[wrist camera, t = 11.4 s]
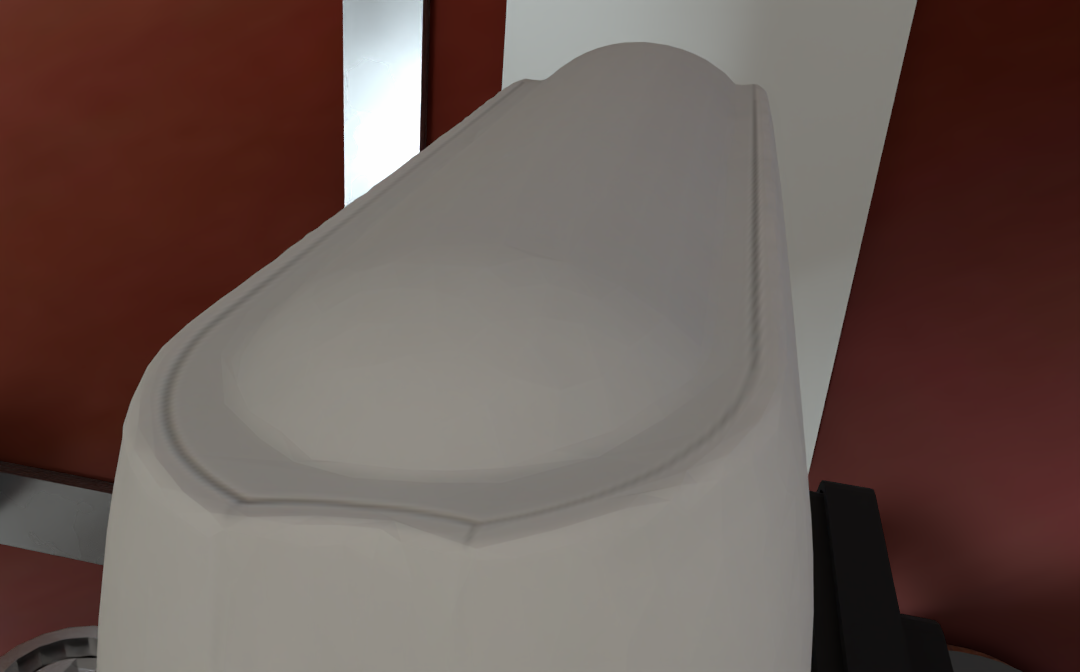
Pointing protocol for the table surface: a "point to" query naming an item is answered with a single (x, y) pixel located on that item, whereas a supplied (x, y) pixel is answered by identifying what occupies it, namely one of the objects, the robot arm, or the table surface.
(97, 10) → the table surface
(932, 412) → the table surface
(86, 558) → the gate
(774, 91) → the mat
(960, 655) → the mug
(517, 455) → the photo printer
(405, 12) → the gate
